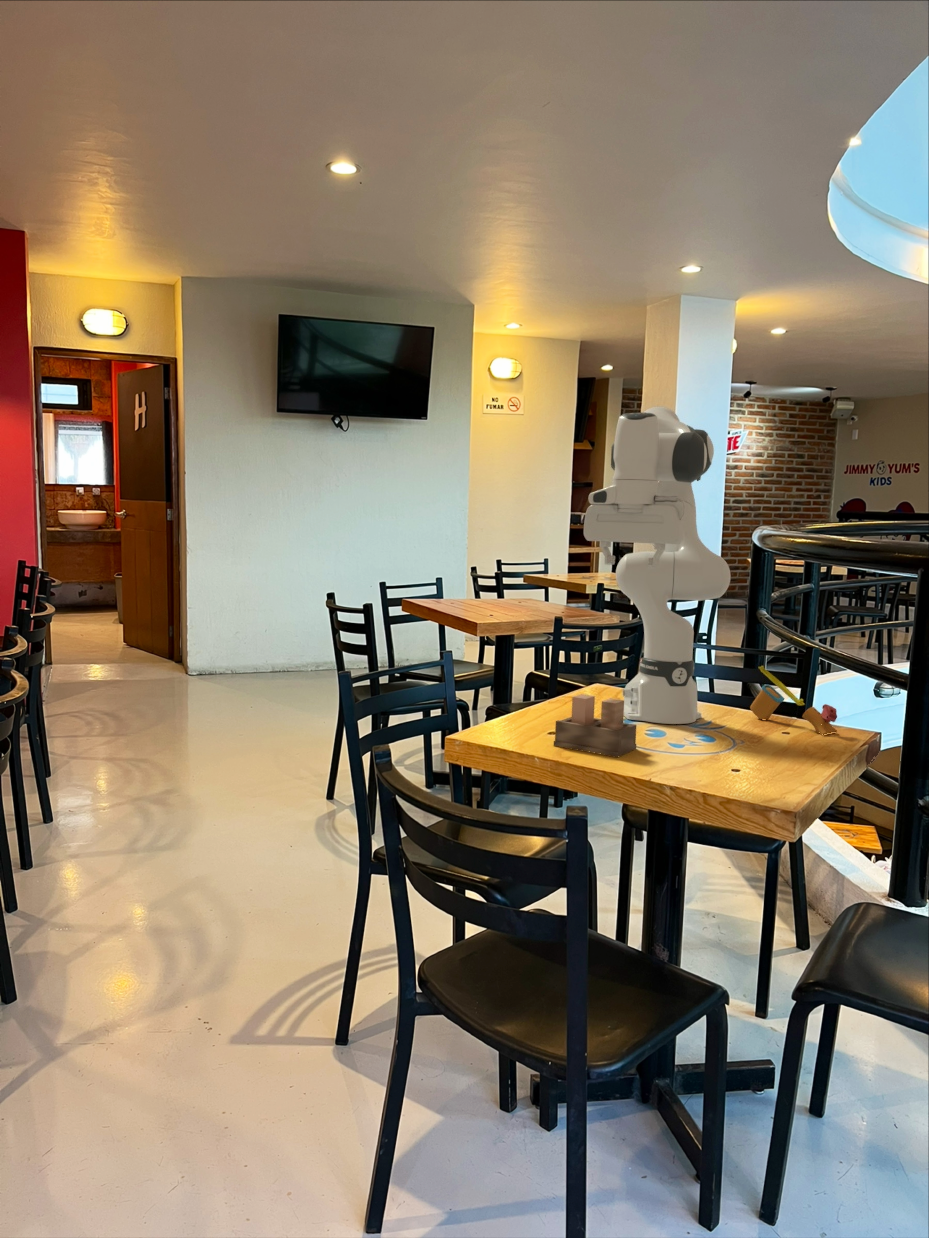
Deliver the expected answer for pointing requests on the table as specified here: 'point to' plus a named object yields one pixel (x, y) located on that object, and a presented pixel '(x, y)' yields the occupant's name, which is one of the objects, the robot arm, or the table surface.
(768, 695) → the toy
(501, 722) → the table surface
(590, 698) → the pink rectangular block
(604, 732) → the box
